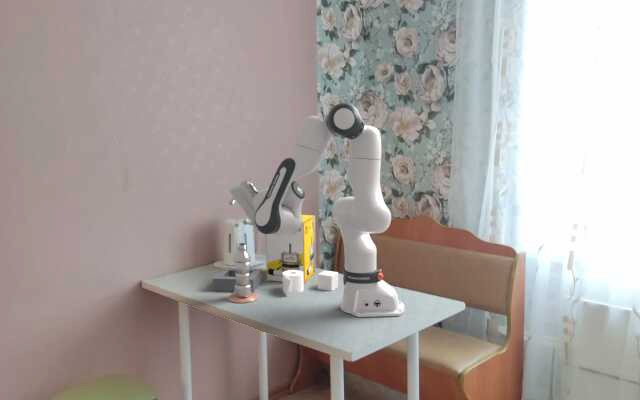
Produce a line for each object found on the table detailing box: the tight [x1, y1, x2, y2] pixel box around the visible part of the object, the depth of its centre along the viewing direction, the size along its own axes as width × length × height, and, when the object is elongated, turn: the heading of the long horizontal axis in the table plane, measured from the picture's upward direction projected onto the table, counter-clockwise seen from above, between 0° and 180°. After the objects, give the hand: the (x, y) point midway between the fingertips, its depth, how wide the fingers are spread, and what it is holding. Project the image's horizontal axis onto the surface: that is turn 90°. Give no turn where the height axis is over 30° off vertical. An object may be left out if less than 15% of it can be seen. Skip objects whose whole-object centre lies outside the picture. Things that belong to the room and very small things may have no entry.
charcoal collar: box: [212, 267, 263, 293], centre depth 227 cm, size 16×15×5 cm
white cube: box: [317, 270, 339, 292], centre depth 224 cm, size 6×6×6 cm
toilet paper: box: [282, 270, 305, 297], centre depth 220 cm, size 8×11×7 cm
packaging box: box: [265, 214, 317, 284], centre depth 238 cm, size 16×16×25 cm
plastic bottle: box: [233, 242, 253, 297], centre depth 211 cm, size 6×7×20 cm
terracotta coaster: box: [228, 292, 259, 304], centre depth 212 cm, size 11×11×1 cm
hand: (237, 212), depth 210 cm, fingers open, 8 cm apart
